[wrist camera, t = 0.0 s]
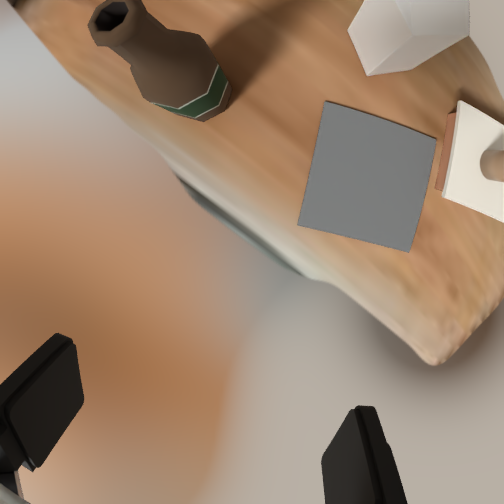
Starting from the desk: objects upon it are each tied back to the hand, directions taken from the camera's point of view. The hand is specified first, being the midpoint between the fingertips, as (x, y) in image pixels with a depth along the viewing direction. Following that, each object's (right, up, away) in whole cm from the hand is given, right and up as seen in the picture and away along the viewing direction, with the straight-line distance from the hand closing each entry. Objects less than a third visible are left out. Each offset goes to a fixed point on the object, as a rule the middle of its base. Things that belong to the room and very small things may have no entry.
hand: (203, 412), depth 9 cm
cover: (+32, +17, +21) cm, 42 cm away
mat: (+17, +14, +27) cm, 35 cm away
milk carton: (+18, +32, +22) cm, 43 cm away
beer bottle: (-5, +25, +26) cm, 36 cm away
